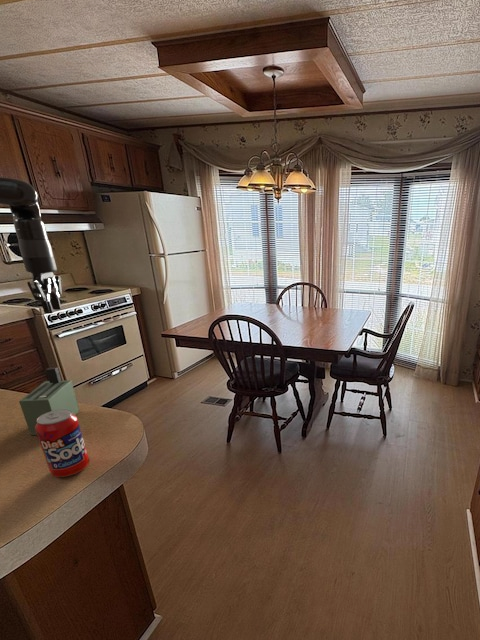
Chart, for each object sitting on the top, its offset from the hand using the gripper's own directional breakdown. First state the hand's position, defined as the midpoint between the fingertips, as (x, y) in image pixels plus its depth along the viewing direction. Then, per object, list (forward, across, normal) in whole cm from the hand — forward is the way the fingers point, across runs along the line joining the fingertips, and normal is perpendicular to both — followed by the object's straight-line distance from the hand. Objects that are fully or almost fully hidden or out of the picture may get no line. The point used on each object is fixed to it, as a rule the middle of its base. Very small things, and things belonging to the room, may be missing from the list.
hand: (53, 311), depth 109 cm
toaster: (+29, +21, +4) cm, 36 cm away
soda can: (+30, +44, +18) cm, 56 cm away
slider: (+18, +16, +4) cm, 24 cm away
